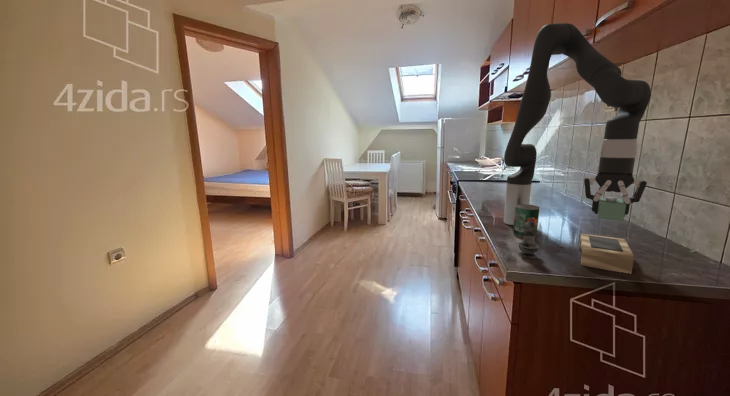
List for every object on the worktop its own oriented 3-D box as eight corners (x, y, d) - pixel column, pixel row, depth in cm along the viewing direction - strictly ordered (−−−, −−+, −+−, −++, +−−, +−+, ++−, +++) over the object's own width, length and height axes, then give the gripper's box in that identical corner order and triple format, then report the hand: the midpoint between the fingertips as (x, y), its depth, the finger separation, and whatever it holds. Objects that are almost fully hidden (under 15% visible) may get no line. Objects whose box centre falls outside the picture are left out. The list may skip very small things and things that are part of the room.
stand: (578, 247, 99) (580, 232, 98) (622, 254, 93) (624, 238, 92) (580, 265, 85) (583, 247, 84) (631, 274, 80) (634, 255, 78)
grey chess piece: (535, 253, 95) (539, 216, 92) (540, 260, 89) (544, 221, 87) (515, 251, 96) (518, 215, 94) (518, 258, 91) (522, 220, 89)
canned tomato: (514, 230, 118) (517, 203, 116) (537, 233, 113) (540, 205, 111) (511, 236, 111) (513, 207, 109) (535, 239, 107) (538, 209, 105)
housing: (595, 211, 92) (597, 194, 90) (618, 213, 89) (621, 196, 87) (598, 218, 84) (600, 199, 83) (623, 221, 81) (626, 202, 80)
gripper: (649, 155, 82) (639, 215, 85) (584, 154, 90) (577, 209, 93) (655, 157, 76) (644, 221, 79) (586, 156, 84) (578, 214, 87)
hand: (608, 214), depth 86 cm, fingers closed on housing, 5 cm apart
